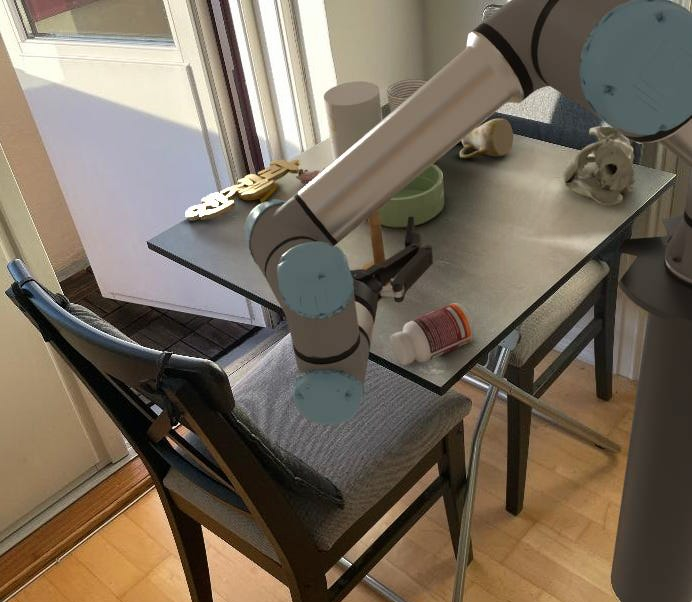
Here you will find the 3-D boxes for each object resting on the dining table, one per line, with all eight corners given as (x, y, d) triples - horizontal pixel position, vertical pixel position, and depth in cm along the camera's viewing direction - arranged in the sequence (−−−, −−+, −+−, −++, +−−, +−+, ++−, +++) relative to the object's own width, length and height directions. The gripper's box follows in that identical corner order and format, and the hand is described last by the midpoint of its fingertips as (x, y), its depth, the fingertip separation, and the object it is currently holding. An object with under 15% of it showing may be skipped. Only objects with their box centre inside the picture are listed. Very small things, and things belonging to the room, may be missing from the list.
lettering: (198, 227, 151) (196, 223, 150) (180, 214, 158) (178, 210, 158) (309, 167, 157) (308, 162, 157) (286, 158, 165) (285, 153, 165)
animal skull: (566, 188, 154) (547, 124, 149) (632, 165, 151) (616, 99, 145) (574, 222, 139) (554, 153, 134) (649, 198, 135) (631, 126, 130)
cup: (437, 152, 163) (432, 76, 152) (437, 173, 156) (431, 95, 146) (395, 155, 164) (387, 81, 154) (393, 176, 158) (385, 100, 147)
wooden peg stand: (409, 276, 132) (397, 163, 119) (387, 297, 128) (373, 184, 115) (376, 266, 135) (362, 156, 122) (355, 287, 132) (337, 176, 118)
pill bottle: (452, 293, 116) (386, 321, 113) (477, 318, 112) (409, 347, 109) (451, 324, 121) (387, 351, 118) (474, 349, 117) (409, 378, 114)
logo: (279, 186, 161) (245, 182, 164) (278, 182, 160) (244, 178, 164) (262, 202, 157) (228, 198, 160) (262, 199, 156) (227, 195, 159)
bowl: (458, 197, 148) (457, 167, 145) (417, 236, 140) (414, 206, 137) (393, 182, 156) (390, 154, 152) (350, 219, 148) (346, 190, 144)
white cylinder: (343, 155, 167) (332, 82, 157) (392, 155, 164) (385, 81, 154) (329, 180, 160) (316, 105, 150) (380, 181, 157) (371, 105, 147)
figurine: (324, 164, 162) (370, 170, 150) (320, 197, 163) (365, 205, 152) (284, 158, 156) (328, 164, 145) (280, 192, 158) (323, 201, 146)
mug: (469, 139, 165) (493, 99, 158) (501, 171, 162) (528, 131, 155) (447, 146, 160) (471, 104, 153) (480, 178, 158) (506, 138, 150)
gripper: (252, 344, 104) (283, 252, 120) (447, 341, 100) (453, 245, 115) (240, 297, 99) (274, 207, 115) (444, 292, 95) (451, 199, 110)
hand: (364, 226), depth 115 cm, fingers open, 13 cm apart
